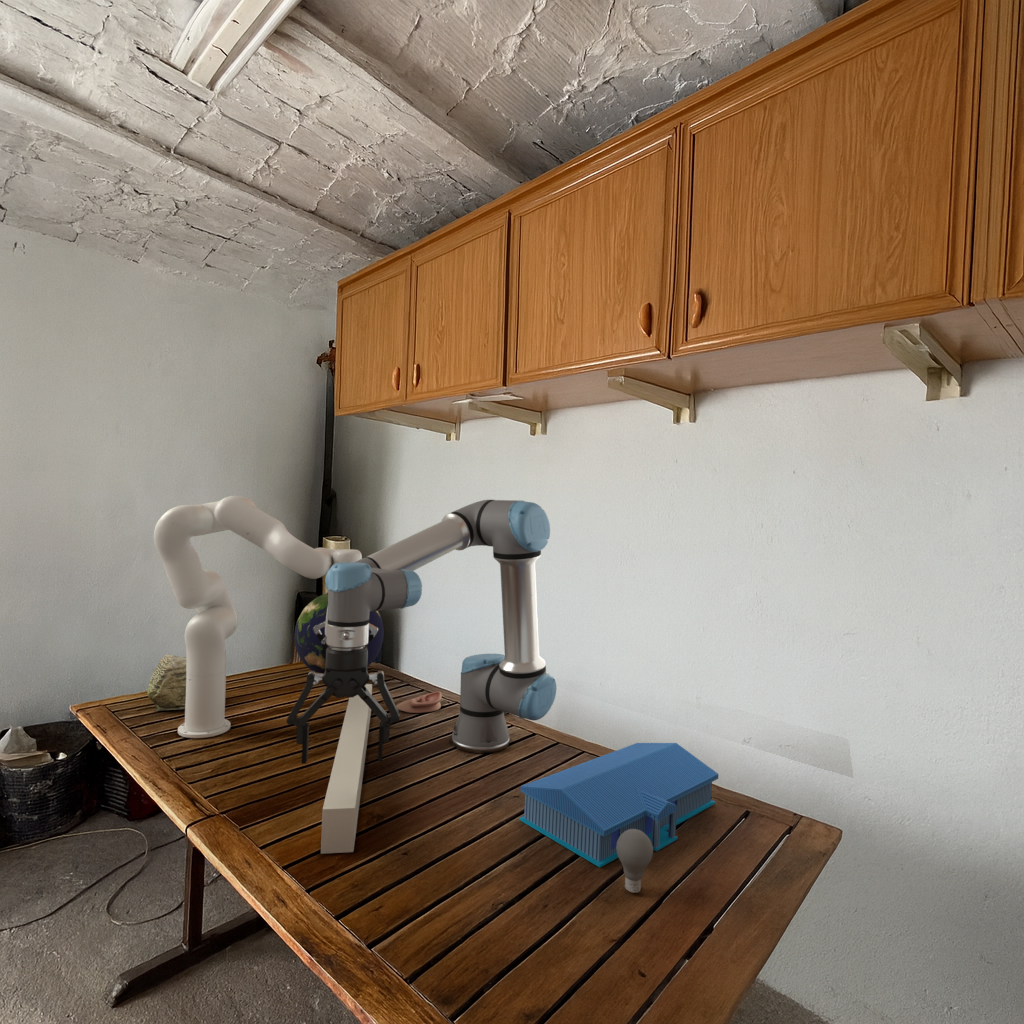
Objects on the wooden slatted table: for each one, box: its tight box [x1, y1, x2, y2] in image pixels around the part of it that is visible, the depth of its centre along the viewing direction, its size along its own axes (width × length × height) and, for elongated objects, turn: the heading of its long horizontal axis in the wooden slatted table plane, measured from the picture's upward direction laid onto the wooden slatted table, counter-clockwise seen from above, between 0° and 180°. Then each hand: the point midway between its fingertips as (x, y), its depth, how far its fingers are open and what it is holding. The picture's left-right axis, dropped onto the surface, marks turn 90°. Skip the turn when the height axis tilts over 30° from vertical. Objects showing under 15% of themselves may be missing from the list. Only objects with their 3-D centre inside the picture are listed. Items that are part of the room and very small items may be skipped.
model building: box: [519, 742, 719, 868], centre depth 132 cm, size 39×24×10 cm, turn 132°
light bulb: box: [616, 829, 654, 894], centre depth 106 cm, size 6×6×10 cm
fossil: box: [147, 654, 187, 712], centre depth 185 cm, size 9×18×15 cm, turn 132°
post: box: [320, 683, 373, 855], centre depth 150 cm, size 76×6×8 cm, turn 10°
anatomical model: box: [395, 691, 443, 714], centre depth 193 cm, size 13×4×12 cm
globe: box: [293, 592, 385, 673], centre depth 220 cm, size 30×30×30 cm
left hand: (345, 658), depth 171 cm, fingers open, 9 cm apart
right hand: (342, 759), depth 118 cm, fingers open, 13 cm apart
